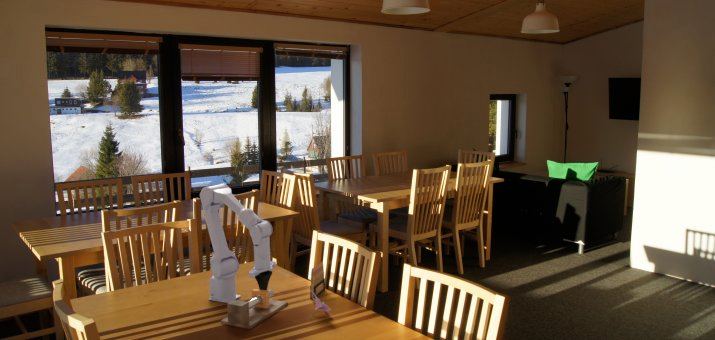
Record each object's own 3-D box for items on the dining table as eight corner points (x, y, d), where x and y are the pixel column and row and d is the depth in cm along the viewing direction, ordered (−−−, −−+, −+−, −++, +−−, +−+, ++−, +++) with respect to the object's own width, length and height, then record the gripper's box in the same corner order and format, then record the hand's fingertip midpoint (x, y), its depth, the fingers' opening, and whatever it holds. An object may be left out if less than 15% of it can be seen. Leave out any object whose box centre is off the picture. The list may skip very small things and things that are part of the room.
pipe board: (221, 323, 205) (220, 302, 204) (260, 300, 226) (260, 281, 225) (249, 328, 200) (249, 307, 199) (287, 304, 221) (287, 285, 220)
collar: (252, 306, 216) (251, 290, 215) (255, 304, 218) (255, 288, 217) (266, 308, 214) (265, 292, 213) (269, 306, 216) (268, 290, 215)
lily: (330, 328, 202) (340, 301, 204) (298, 315, 202) (309, 289, 203) (328, 325, 214) (338, 300, 216) (298, 313, 213) (308, 288, 215)
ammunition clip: (314, 299, 226) (313, 269, 225) (310, 298, 227) (309, 268, 225) (325, 290, 236) (324, 261, 235) (321, 289, 237) (320, 260, 235)
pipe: (238, 312, 206) (238, 305, 206) (268, 295, 222) (267, 288, 222) (245, 313, 205) (244, 306, 205) (273, 296, 221) (273, 289, 221)
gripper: (260, 261, 207) (261, 299, 209) (282, 251, 220) (283, 286, 222) (243, 259, 210) (244, 296, 212) (266, 249, 223) (267, 283, 225)
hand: (263, 291), depth 217 cm, fingers closed
